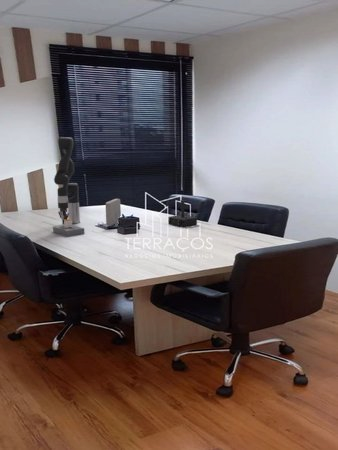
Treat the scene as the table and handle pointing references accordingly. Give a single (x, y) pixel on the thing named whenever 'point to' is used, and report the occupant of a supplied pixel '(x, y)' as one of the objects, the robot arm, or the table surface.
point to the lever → (67, 223)
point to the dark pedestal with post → (182, 218)
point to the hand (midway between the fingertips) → (64, 224)
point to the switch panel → (68, 230)
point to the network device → (113, 211)
